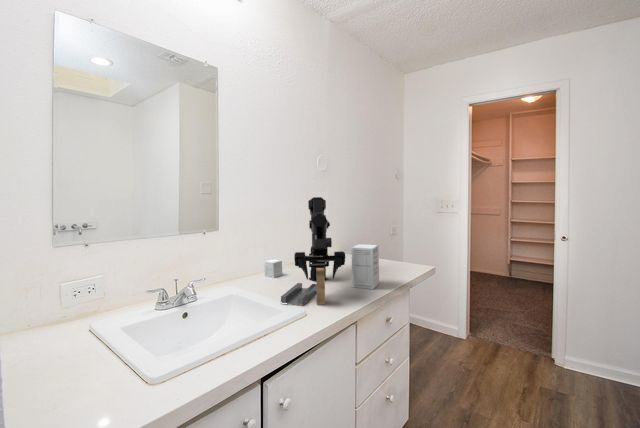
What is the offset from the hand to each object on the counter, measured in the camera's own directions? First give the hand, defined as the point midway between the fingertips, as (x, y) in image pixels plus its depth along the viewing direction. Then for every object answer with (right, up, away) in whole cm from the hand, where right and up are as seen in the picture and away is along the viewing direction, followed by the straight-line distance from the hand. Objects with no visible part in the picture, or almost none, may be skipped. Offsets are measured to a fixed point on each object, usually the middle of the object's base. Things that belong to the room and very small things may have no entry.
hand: (320, 278), depth 111 cm
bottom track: (-8, -8, +7) cm, 13 cm away
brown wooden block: (0, -9, 0) cm, 9 cm away
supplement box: (+19, -7, +21) cm, 29 cm away
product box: (-22, -7, +39) cm, 45 cm away
